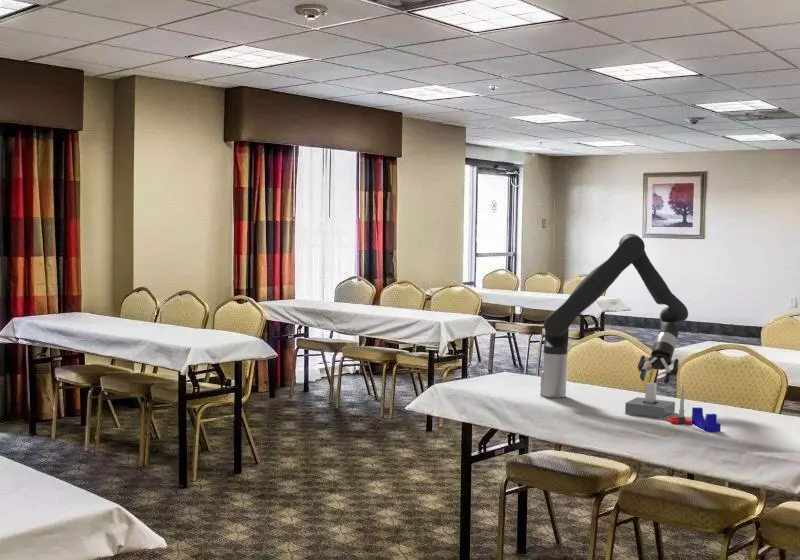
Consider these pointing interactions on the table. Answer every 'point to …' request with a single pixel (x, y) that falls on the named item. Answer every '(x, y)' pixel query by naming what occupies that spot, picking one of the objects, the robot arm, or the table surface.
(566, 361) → the robot arm
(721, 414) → the table surface
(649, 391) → the light grey tall block
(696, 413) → the cable clip
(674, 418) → the red grey spiked stand
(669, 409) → the gray square socket block
